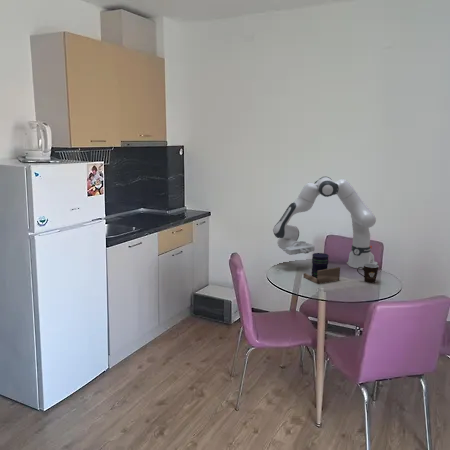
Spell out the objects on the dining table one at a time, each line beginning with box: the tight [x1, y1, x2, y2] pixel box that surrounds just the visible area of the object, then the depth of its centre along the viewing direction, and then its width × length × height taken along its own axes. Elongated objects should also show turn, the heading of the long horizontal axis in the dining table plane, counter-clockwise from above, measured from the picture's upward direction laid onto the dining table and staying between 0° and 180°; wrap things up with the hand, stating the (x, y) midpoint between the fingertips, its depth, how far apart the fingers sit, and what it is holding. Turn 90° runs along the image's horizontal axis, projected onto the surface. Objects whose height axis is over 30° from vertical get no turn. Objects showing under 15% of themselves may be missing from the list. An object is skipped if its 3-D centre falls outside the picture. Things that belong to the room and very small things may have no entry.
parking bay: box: [303, 266, 341, 285], centre depth 275 cm, size 14×16×8 cm
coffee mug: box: [356, 264, 380, 284], centre depth 271 cm, size 12×9×10 cm
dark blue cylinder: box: [311, 252, 330, 278], centre depth 275 cm, size 10×10×15 cm
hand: (307, 252), depth 287 cm, fingers closed
